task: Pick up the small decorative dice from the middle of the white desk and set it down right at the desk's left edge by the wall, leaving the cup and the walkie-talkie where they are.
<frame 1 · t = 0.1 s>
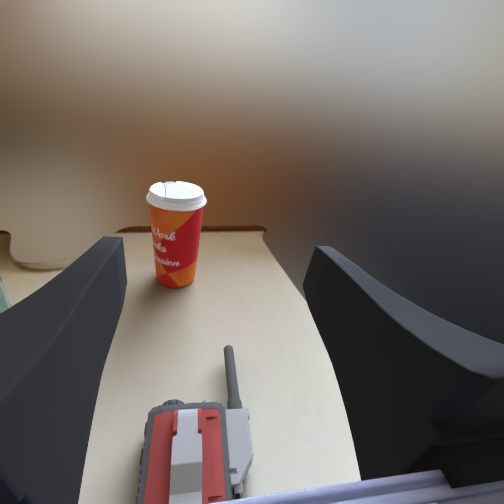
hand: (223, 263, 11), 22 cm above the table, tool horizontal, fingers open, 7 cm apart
walkie-talkie: (198, 451, 26), on the table
paper cup: (176, 278, 46), on the table
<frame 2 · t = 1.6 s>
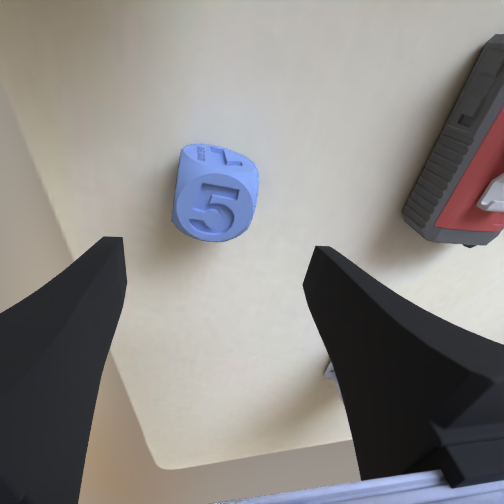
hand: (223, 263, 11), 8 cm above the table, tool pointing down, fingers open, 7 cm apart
decorative dice: (211, 177, 18), on the table
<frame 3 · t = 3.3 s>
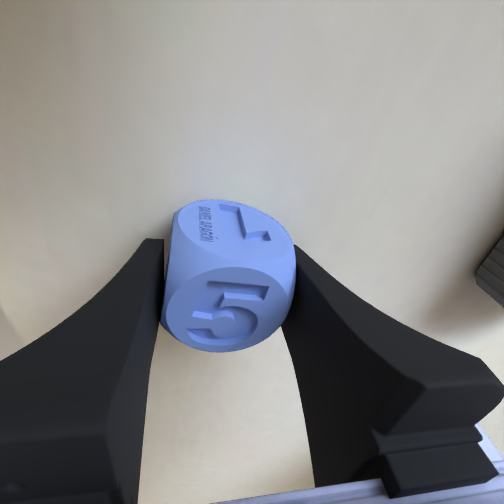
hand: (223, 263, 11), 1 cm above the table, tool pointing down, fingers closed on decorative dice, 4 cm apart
decorative dice: (219, 240, 13), on the table, touching gripper
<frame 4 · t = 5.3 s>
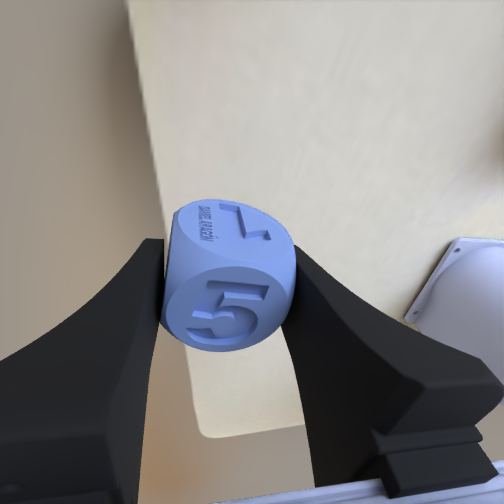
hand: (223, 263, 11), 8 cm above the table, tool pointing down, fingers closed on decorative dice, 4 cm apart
decorative dice: (219, 239, 13), point 6 cm above the table, touching gripper
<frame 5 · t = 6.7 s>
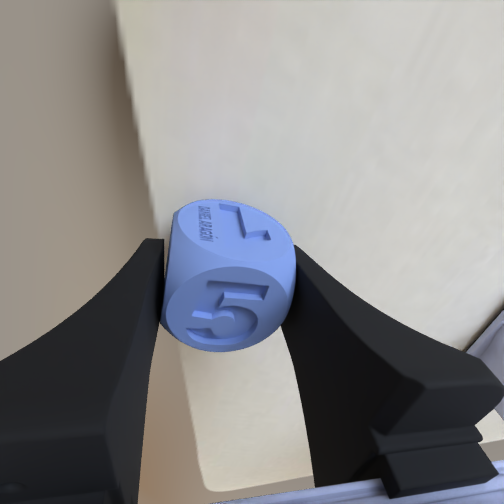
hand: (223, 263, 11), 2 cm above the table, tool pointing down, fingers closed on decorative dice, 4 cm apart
decorative dice: (218, 240, 13), point 1 cm above the table, touching gripper
when the fingers open (1 cm above the table, at t = 7.4 s): decorative dice stays where it is, on the table.
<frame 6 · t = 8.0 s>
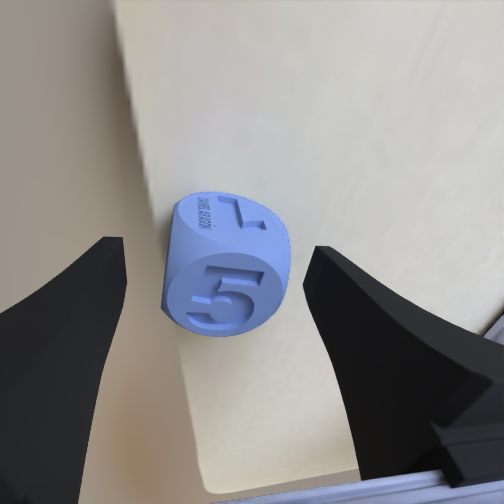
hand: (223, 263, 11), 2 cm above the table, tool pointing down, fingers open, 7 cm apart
decorative dice: (217, 231, 13), on the table
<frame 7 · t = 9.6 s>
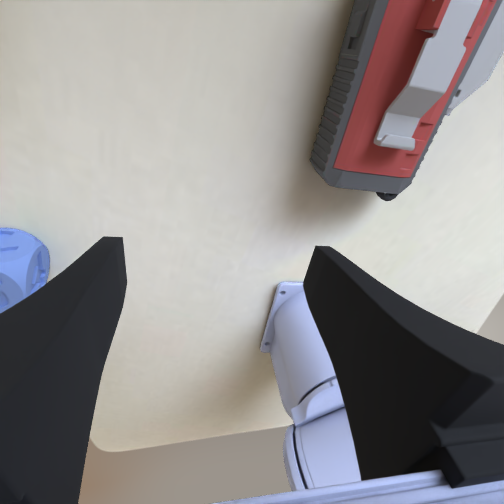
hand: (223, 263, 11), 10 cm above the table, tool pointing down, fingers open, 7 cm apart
walkie-talkie: (416, 23, 17), on the table
decorative dice: (18, 250, 21), on the table
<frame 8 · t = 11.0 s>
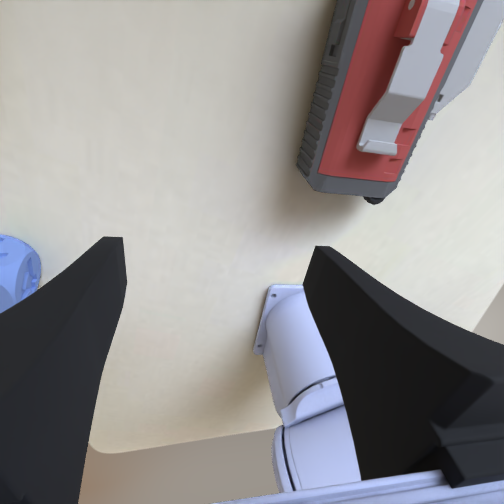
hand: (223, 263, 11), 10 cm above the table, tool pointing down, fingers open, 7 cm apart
walkie-talkie: (398, 29, 17), on the table
decorative dice: (9, 256, 21), on the table
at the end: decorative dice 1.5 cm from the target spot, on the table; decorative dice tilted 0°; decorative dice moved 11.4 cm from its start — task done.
